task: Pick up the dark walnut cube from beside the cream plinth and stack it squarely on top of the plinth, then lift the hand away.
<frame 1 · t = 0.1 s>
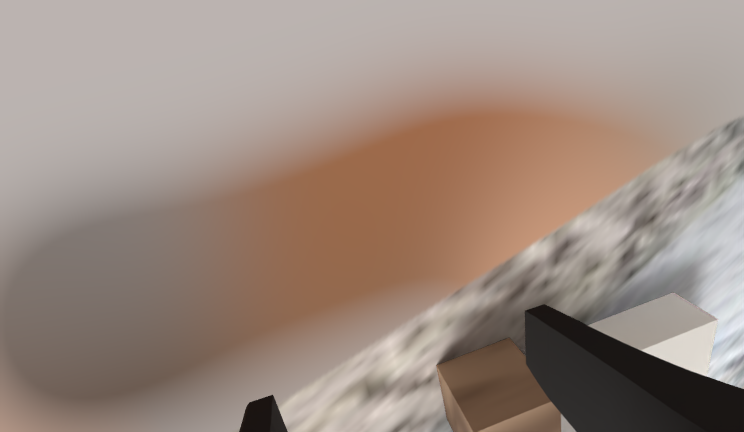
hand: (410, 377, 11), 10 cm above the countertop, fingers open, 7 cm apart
walnut cube: (476, 378, 27), on the countertop
cream plinth: (603, 365, 30), on the countertop
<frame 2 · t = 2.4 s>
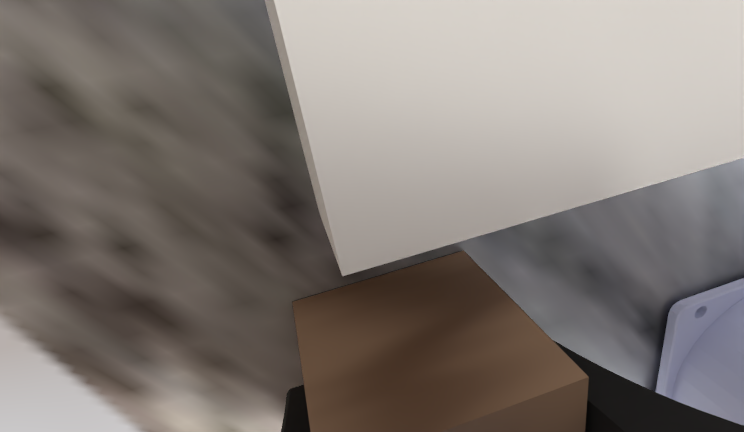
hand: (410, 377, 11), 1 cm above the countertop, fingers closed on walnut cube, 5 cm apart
walnut cube: (394, 343, 13), on the countertop, touching gripper
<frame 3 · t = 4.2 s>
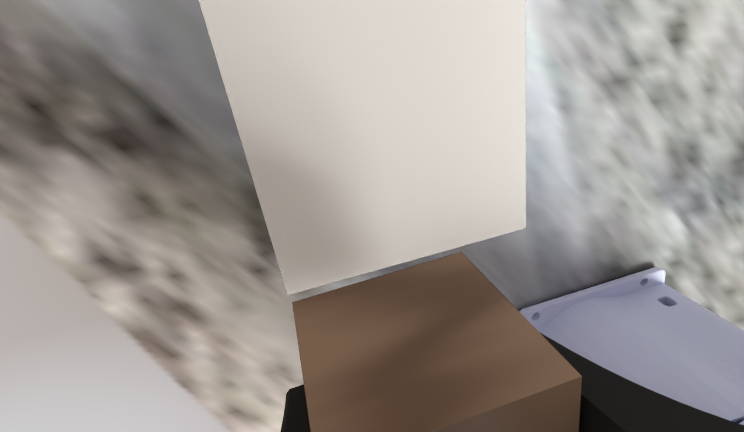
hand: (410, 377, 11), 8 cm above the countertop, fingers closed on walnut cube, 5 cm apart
walnut cube: (392, 343, 13), point 7 cm above the countertop, touching gripper
cream plinth: (370, 119, 17), on the countertop
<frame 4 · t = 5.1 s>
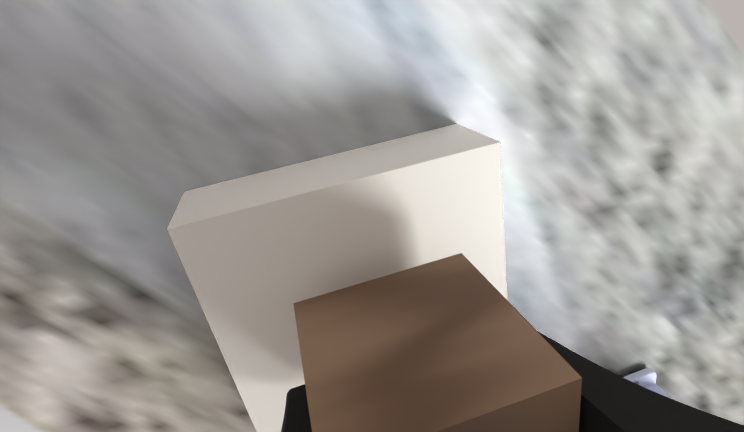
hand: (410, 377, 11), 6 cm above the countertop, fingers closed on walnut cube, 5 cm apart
walnut cube: (393, 343, 13), point 5 cm above the countertop, touching gripper
cream plinth: (352, 267, 17), on the countertop
when the fingers open (6 cm above the countertop, at t = 5.9 s): walnut cube drops 1 cm, point 3 cm above the countertop.
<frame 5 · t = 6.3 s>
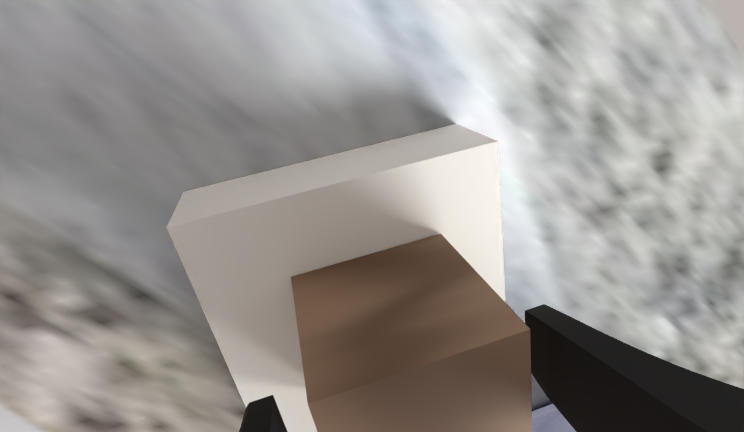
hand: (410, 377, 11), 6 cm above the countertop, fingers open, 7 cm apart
walnut cube: (381, 316, 14), point 3 cm above the countertop
cream plinth: (351, 266, 17), on the countertop
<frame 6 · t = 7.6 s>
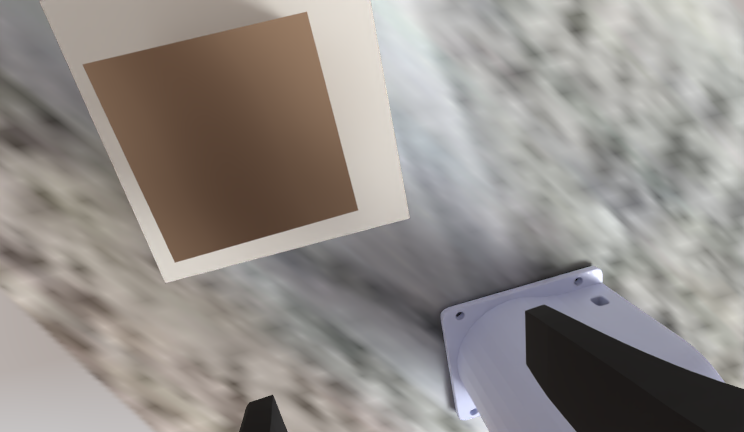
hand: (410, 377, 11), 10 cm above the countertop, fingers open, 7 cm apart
walnut cube: (252, 120, 15), point 3 cm above the countertop, touching cream plinth
cream plinth: (260, 116, 18), on the countertop, touching walnut cube
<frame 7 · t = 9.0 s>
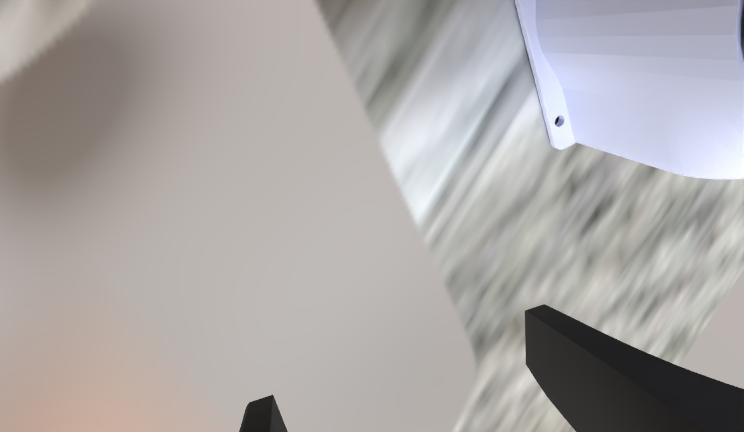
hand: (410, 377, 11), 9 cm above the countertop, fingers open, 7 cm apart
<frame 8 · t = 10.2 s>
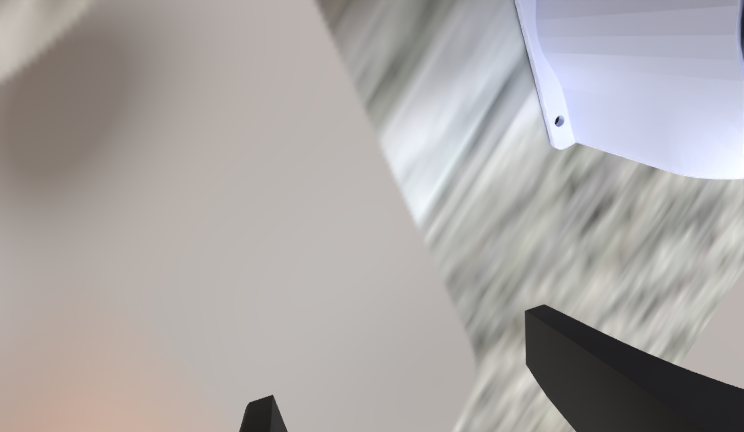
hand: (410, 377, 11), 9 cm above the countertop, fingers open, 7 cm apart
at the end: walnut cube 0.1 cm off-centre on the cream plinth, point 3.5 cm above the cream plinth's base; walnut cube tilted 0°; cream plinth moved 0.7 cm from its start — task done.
